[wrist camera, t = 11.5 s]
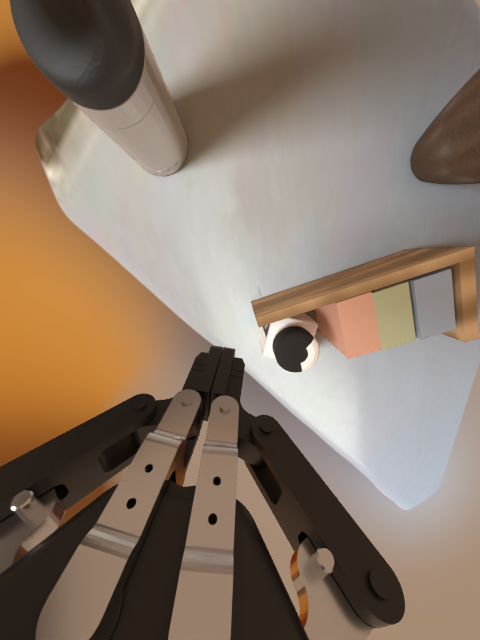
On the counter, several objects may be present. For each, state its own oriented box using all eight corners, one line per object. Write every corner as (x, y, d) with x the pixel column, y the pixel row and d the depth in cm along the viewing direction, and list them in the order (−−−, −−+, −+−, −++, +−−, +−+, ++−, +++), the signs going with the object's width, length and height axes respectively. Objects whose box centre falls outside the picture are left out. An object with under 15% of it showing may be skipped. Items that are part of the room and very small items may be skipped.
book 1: (309, 290, 43) (335, 303, 31) (334, 282, 42) (371, 291, 31) (320, 332, 45) (348, 359, 33) (344, 325, 45) (381, 349, 33)
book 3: (365, 274, 42) (413, 280, 30) (391, 265, 41) (451, 268, 30) (373, 318, 44) (421, 339, 33) (398, 310, 44) (455, 329, 32)
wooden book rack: (250, 301, 43) (255, 317, 31) (407, 249, 41) (474, 246, 29) (270, 361, 46) (281, 396, 35) (415, 316, 44) (478, 338, 33)
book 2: (335, 283, 42) (371, 293, 31) (361, 274, 42) (408, 281, 30) (344, 326, 45) (382, 350, 33) (369, 318, 44) (416, 340, 33)
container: (258, 341, 45) (266, 373, 33) (267, 304, 43) (279, 324, 31) (295, 348, 46) (316, 382, 33) (305, 312, 44) (332, 335, 31)
